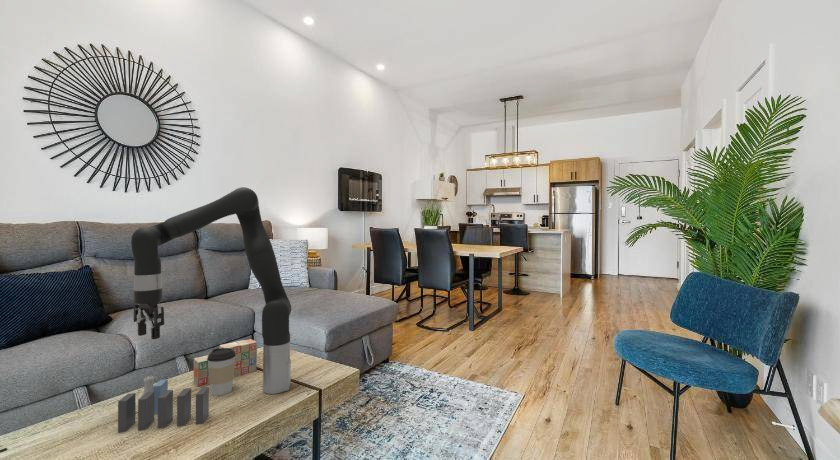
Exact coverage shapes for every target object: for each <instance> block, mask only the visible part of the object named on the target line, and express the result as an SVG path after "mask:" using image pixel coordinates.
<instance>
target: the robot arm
mask: <svg viewBox="0 0 840 460" xmlns="http://www.w3.org/2000/svg"><path fill="white" fill-rule="evenodd" d="M259 203H260V202H259V198H258V196H257V193H256V192H255V191H254V190H253V189H251V188H249V187H242V186H241V187H238V188H235V189H234V190H231V192H229V193H227V194H225V195H224V196H222V197H220V198H218V199H216V200H214V201H212V202H210V203H207V204H205V205H204V204H203V205H202V206H199V207H197V208H194V209H193V208H192V209H191V210H187V211H185V212H183V213H180V214H177V215H175V216H172V217H169V218H167V219H166V220H164V221H163V222H160V223H157V224H155V225H154V224H153V225H152V226H148V227H145V226H144V227H139V228H138V229H136V230H135V231H134V232H133V233H132V235H131V239H130V241H131V242H130V244H131V252H132V255H133V260H134V265H133V267H134V269H133V270H134V271H133V273H134V275H133V276H134V277H133V278H134V279H133V303H134V304H133V322H134V323H135V324H136V325H137V336H139V337H142V336H145V335H147V323H148V324H149V325H150V336H151V337H150V338H151V340H157V339H160V338H161V327H162V326H164V325H165V310H164V309H165V308H164V306H159V305H158V303H159V302H160V303H161V302H162V301H163V277H162V260H161V257H160V256H159V248H158V247H159V246H162V245H165V244H167V243H168V242H171V241H172V240H174V239H178V238H181V237H184V236H186V235H189V234H191V233H193V232H196V231H198V230H200V229H203V228H204V227H206V226H208V225H210V224H212V223H214V222H216V221H218V220H221V219H223V218H225V217H229V216H232V215H236V217H237V219H238V222H239V225H240V228H241V230H242V231H241V232H242V237H243V246H244V251H245V255H246V259H247V263H248V264H249V265H248V266H249V268H250V270H251V273H252V274H253V275H254V278H255V279H256V281H257V282H258V284H259V285H260V288H261V291H262V292H263V298H264V302H265V305H264V307H262V312H261V334H262V335H261V336H262V340H263V342H262V343H263V344H262V345H263V347H262V348H263V349H262V352H263V355H262V357H263V358H262V391H263V393H265V394H267V395H269V394H271V395H273V394H274V395H275V394H280V393H283V392H287V391H289V390H290V387H291V383H292V382H291V377H292V376H291V374H292V371H291V370H292V369H291V368H292V365H291V362H292V361H291V334H290V315H291V312H292V304H291V302H290V300H289V297H288V295H287V293H286V290H285V288H284V285H283V283H282V279H281V278H282V277H281V275H280V270H279V265H278V262H277V258H276V254H275V251H274V248H273V245H272V244H273V243H272V242H271V240H270V237H269V235H268V233H267V231H266V229H265V227H264V224H263V221H262V217H261V211H260V206H259Z"/></svg>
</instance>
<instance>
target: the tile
mask: <svg viewBox="0 0 840 460" xmlns="http://www.w3.org/2000/svg"><path fill="white" fill-rule="evenodd" d="M168 380H169V379H168V378H167V379H166V378H165V379H164V378H163V379H160V380H159V381H157V382H156V384H153V391H154V416H156V415H158V397H159V396H160V395H161V394H163V393H164V392H165V391H166V390H169V388H168V387H169V385H168V382H169V381H168Z"/></svg>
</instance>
